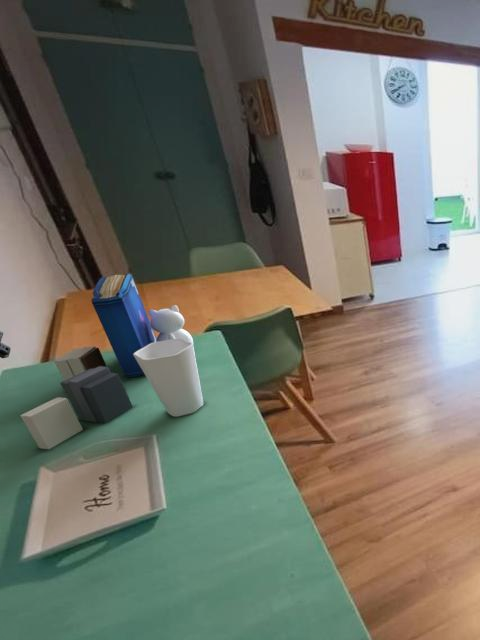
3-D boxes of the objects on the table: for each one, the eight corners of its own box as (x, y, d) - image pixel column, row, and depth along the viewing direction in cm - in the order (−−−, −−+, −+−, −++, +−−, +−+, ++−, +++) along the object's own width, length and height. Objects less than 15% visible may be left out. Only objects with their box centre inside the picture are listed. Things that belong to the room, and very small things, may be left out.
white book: (39, 448, 91) (20, 415, 87) (74, 428, 97) (57, 397, 94) (49, 449, 91) (30, 416, 87) (83, 429, 97) (67, 398, 93)
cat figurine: (193, 342, 138) (178, 300, 132) (199, 356, 130) (184, 312, 123) (158, 350, 133) (142, 306, 126) (163, 365, 124) (145, 319, 118)
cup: (155, 425, 99) (128, 363, 92) (161, 403, 107) (137, 344, 100) (211, 412, 105) (190, 352, 97) (213, 392, 112) (194, 335, 105)
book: (155, 375, 119) (122, 292, 108) (122, 382, 116) (85, 297, 105) (159, 346, 135) (131, 271, 124) (131, 351, 132) (99, 275, 121)
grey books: (77, 419, 100) (57, 380, 96) (108, 403, 107) (90, 365, 102) (105, 423, 99) (85, 383, 95) (134, 406, 106) (117, 368, 101)
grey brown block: (68, 390, 111) (53, 359, 107) (85, 376, 118) (72, 347, 114) (96, 387, 113) (82, 357, 109) (112, 374, 119) (99, 346, 115)
